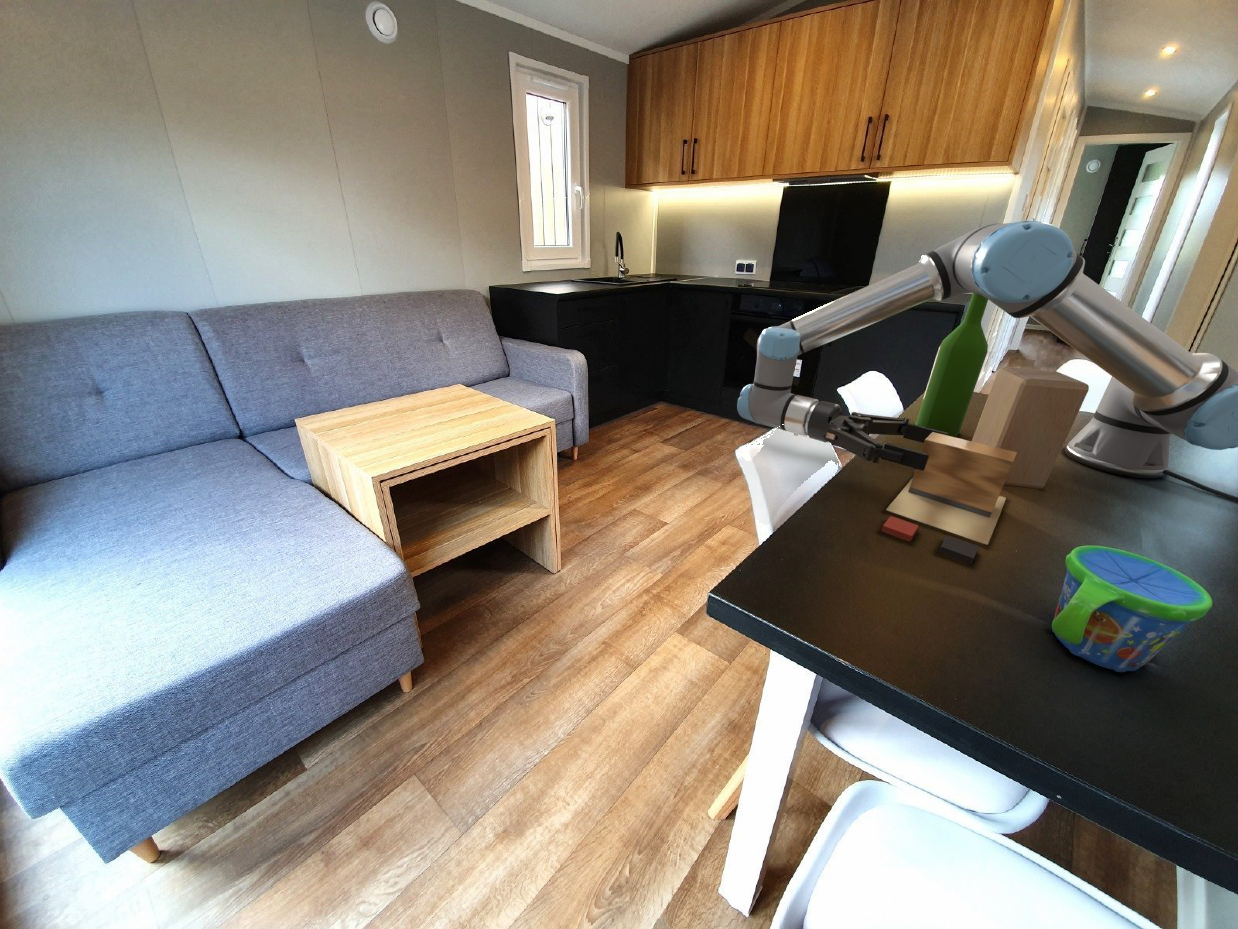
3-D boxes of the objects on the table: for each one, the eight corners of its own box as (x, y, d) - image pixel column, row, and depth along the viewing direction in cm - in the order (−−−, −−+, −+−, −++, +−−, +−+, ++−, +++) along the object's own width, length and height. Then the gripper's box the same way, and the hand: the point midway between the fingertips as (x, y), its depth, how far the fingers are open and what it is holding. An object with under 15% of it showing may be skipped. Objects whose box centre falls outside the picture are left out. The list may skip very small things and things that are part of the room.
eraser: (994, 506, 82) (1017, 452, 77) (989, 517, 78) (1013, 461, 74) (915, 482, 89) (932, 431, 85) (907, 492, 86) (925, 439, 81)
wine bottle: (921, 421, 121) (965, 282, 107) (963, 432, 115) (1015, 286, 101) (908, 429, 116) (953, 283, 102) (951, 441, 110) (1004, 288, 96)
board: (1005, 500, 85) (1006, 497, 85) (986, 547, 71) (987, 544, 71) (916, 474, 93) (917, 472, 93) (884, 512, 80) (885, 509, 80)
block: (1045, 492, 88) (1094, 384, 80) (984, 485, 90) (1026, 379, 82) (1016, 468, 97) (1058, 369, 89) (961, 463, 99) (997, 365, 90)
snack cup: (1095, 606, 60) (1135, 537, 56) (1203, 674, 51) (1261, 598, 47) (993, 623, 57) (1027, 551, 53) (1089, 700, 48) (1141, 620, 43)
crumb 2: (975, 555, 70) (979, 546, 69) (970, 567, 67) (974, 558, 66) (943, 543, 72) (946, 535, 71) (937, 555, 69) (940, 546, 69)
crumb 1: (916, 533, 74) (919, 525, 74) (909, 544, 72) (912, 536, 71) (888, 523, 77) (890, 515, 76) (880, 533, 74) (882, 525, 73)
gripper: (833, 421, 106) (945, 450, 93) (782, 454, 89) (910, 495, 76) (841, 388, 102) (958, 413, 90) (789, 415, 85) (924, 451, 73)
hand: (936, 450), depth 83 cm, fingers open, 13 cm apart
